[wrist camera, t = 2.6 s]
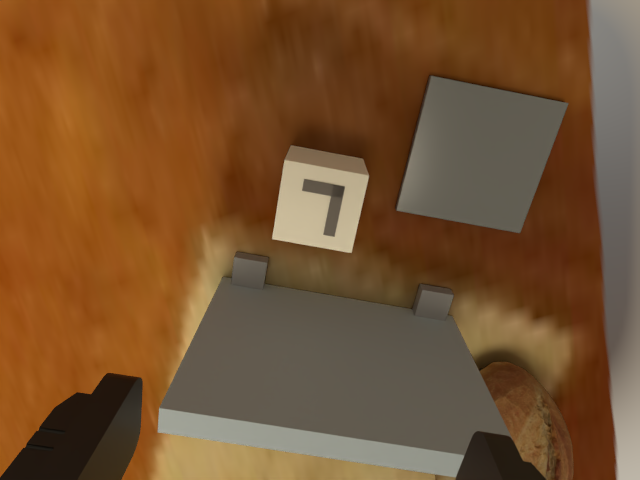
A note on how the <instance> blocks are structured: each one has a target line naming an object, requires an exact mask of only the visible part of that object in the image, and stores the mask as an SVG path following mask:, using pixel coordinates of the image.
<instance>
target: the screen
mask: <svg viewBox="0 0 640 480" xmlns="http://www.w3.org/2000/svg"><path fill="white" fill-rule="evenodd" d="M268 259H269V257H264V256H258V255H253V254H247V253H241V252H236V255H235V257H234V263H233V271H232V278H228V277H223V278H222V280H221V282H220V284H219V286H218V288H217V290H216V292H215V294H214V296H213V298H212V300H211V302H210V304H209V307H208V309H207V311H206V313H205V315H204V317H203V319H202V321H201V323H200V325H199V327H198V329H197V331H196V333H195V335H194V338H193V340H192V342H191V344H190V346H189V348H188V350H187V352H186V354H185V356H184V358H183V360H182V362H181V364H180V366H179V368H178V371H177V373H176V375H175V377H174V379H173V381H172V383H171V385H170V387H169V389H168V391H167V393H166V395H165V397H164V399H163V402H162V404H161V406H160V408H159V421H158V432H160V433H167V434H173V435H180V436H186V437H193V438H200V439H206V440H213V441H219V442H226V443H232V444H239V445H246V446H252V447H259V448H265V449H272V450H279V451H285V452H292V453H298V454H305V455H311V456H318V457H325V458H331V459H338V460H344V461H351V462H357V463H364V464H371V465H377V466H384V467H390V468H397V469H404V470H410V471H417V472H423V473H430V474H436V475H443V476H450V477H456V476H457V473H458V470H459V468H460V465H461V463H462V460H463V458H464V455H465V453H466V451H467V448H468V446H469V443H470V441H471V438H472V436H473V434H474V433H475V432H476V431H481V432H488V433H494V434H501V435H507V436H509V437H511V435H510V433H509V431H508V429H507V427H506V425H505V423H504V421H503V419H502V417H501V415H500V413H499V411H498V409H497V407H496V404H495V402H494V400H493V398H492V396H491V394H490V392H489V390H488V388H487V386H486V384H485V382H484V380H483V378H482V376H481V374H480V372H479V370H478V368H477V366H476V364H475V362H474V360H473V358H472V355H471V353H470V351H469V349H468V347H467V345H466V343H465V341H464V339H463V337H462V335H461V333H460V331H459V329H458V327H457V325H456V323H455V321H454V319H453V317H452V316H449V315H448V312H449V309H450V306H451V303H452V300H453V297H454V295H453V293H452V291H451V289H447V288H442V287H436V286H430V285H424V284H420V285H419V289H418V292H417V295H416V299H415V302H414V305H413V309H409V308H403V307H397V306H391V305H385V304H379V303H374V302H368V301H362V300H356V299H350V298H344V297H339V296H333V295H327V294H321V293H315V292H309V291H304V290H298V289H292V288H286V287H280V286H274V285H269V284H265V278H266V272H267V266H268ZM511 439H512V437H511ZM512 440H513V439H512Z"/></svg>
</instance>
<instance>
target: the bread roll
mask: <svg viewBox="0 0 640 480" xmlns="http://www.w3.org/2000/svg"><path fill="white" fill-rule="evenodd" d="M480 374H481V376H482V378H483V380H484V382H485V384H486V386H487V388H488V390H489V392H490V394H491V396H492V398H493V400H494V402H495V404H496V407H497V409H498V411H499V413H500V415H501V417H502V419H503V421H504V423H505V425H506V427H507V429H508V431H509V433H510V435H511V437H512V439H513V441H514V443H515V445H516V447H517V449H518V451H519V453H520V456H521V458H522V460H523V461H525V462H531V463H532V464H533V465H534V466H535V467H536V468H537V470H538V471H539V472H540V473H541V474H542V475H543V476H544V477H545V478H546V480H572V479H573V453H572V443H571V439H570V435H569V432H568V429H567V426H566V424H565V421H564V419H563V416H562V414H561V412H560V411H559V409H558V407H557V406H556V404H555V402H554V401H553V399H552V398H551V396H550V395H549V394H548V393H547V391H546V390H545V389H544V388H543V387H542V386H541V384H540V383H539V382H538V381H537V380H536V379H535V378H534V377H533V376H532V375H531V374H530V373H528V372H527V371H526V370H524V369H523V368H521V367H519V366H517V365H514V364H512V363H509V362H492V363H491V364H489V365H488V366H487V367H485V368H484V369H481V370H480ZM435 479H436V480H455V479H456V477H450V476H443V475H436V474H435Z"/></svg>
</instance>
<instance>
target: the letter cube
mask: <svg viewBox="0 0 640 480" xmlns="http://www.w3.org/2000/svg"><path fill="white" fill-rule="evenodd" d="M368 179H369V174H368V171H367V168H366V166H365V163H364V160H363V159H362V158H357V157H351V156H346V155H341V154H335V153H330V152H325V151H319V150H314V149H309V148H304V147H298V146H293V145H291V146H290V148H289V151H288V153H287V155H286V158H285V160H284V166H283V173H282V179H281V185H280V192H279V198H278V205H277V211H276V217H275V224H274V230H273V236H272V239H275V240H280V241H286V242H292V243H297V244H303V245H309V246H314V247H320V248H326V249H331V250H337V251H343V252H348V253H352V248H353V244H354V239H355V235H356V231H357V226H358V222H359V218H360V213H361V209H362V205H363V200H364V196H365V192H366V187H367V183H368Z"/></svg>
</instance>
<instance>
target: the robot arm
mask: <svg viewBox="0 0 640 480" xmlns="http://www.w3.org/2000/svg"><path fill="white" fill-rule="evenodd" d="M141 407H142V379H141V378H139V377H133V376H126V375H120V374H113V373H107V374H106V375H105V376H104V377H103V379H102V380H101V381H100V383H99V384H98V386H97V387H96V389H95V390H94V391H93V393H92V394H85V393H78V392H77V393H76V394H74V395H73V396H71V397H70V398H68V399H67V400H65V401H64V402H62V403H61V404H59V405H58V406H56V407H55V408H54V409H53V411H52V412H51V413H50V414H49V416H48V417H47V418H46V420H45V421H44V422H43V423H42V425H41V426H40V428H39V431H36V432H35V434H34V435H33V436H32V438H31V439H30V440H29V441H28V443H27V445H26V447H25V448H23V449H22V450H21V452H20V453H19V454H18V455H17V457H16V458H15V459H14V461H13V462H12V463H11V464H10V466H9V467H8V468H7V470H6V471H5V472H4V473H3V475H2V476H1V477H0V480H121V479H122V477H123V475H124V473H125V471H126V469H127V467H128V465H129V463H130V460H131V458H132V456H133V454H134V451H135V449H136V446H137V442H138V439H139V434H140V427H141ZM455 480H546V478H545V477H544V476H543V475H542V474H541V473H540V472H539V471H538V470H537V468H536V467H535V466H534V465H533V464H532V463H531V462H525V461H523V460H522V458H521V456H520V453H519V451H518V449H517V447H516V445H515V443H514V441H513V440H512V439H511V437H509V436H507V435H501V434H494V433H488V432H481V431H476V432H475V433H474V434H473V436H472V438H471V441H470V443H469V446H468V448H467V451H466V453H465V455H464V458H463V460H462V463H461V465H460V468H459V470H458V473H457V476H456V479H455Z"/></svg>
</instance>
